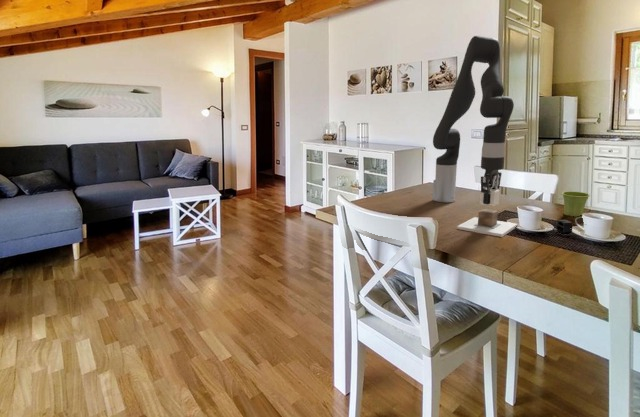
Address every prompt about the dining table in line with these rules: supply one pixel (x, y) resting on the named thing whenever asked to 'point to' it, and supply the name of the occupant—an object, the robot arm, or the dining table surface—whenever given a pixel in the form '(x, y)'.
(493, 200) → the cream block
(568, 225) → the black irregular block
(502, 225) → the board
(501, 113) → the robot arm
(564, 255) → the dining table surface
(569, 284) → the dining table surface
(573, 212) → the plant pot
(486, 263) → the dining table surface
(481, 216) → the walnut block
